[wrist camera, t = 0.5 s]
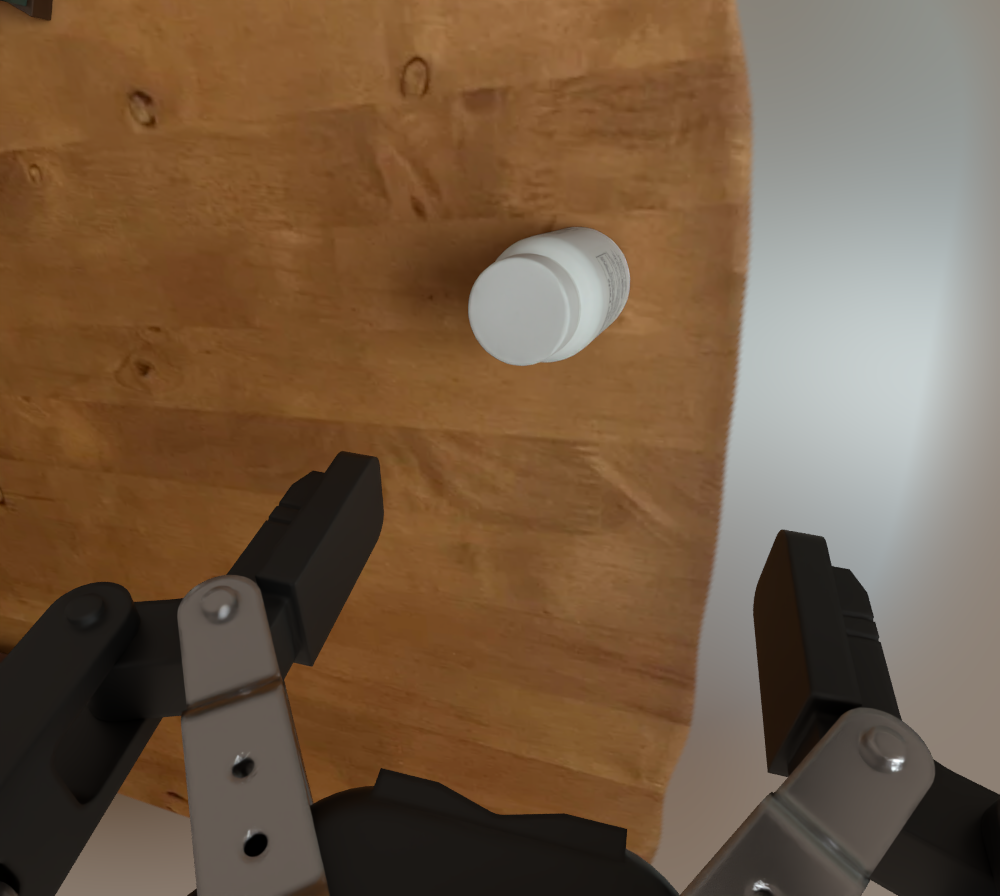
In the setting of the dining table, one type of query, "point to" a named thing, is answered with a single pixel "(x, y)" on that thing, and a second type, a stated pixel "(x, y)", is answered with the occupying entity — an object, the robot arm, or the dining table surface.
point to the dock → (34, 7)
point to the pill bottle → (549, 296)
